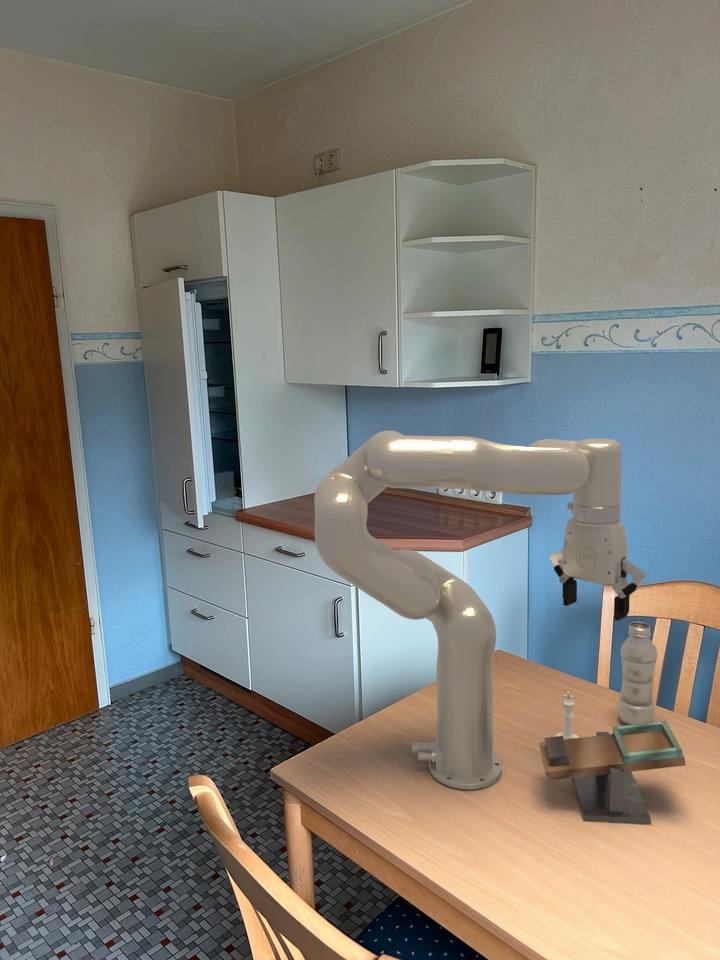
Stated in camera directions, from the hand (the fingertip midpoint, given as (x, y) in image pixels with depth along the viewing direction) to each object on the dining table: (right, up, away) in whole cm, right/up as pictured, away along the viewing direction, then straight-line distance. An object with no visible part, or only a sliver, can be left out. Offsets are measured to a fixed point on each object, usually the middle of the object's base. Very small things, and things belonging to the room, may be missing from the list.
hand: (594, 610), depth 123 cm
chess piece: (-2, -27, +11) cm, 29 cm away
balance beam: (0, -23, -7) cm, 23 cm away
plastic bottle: (+13, -25, +17) cm, 33 cm away
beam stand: (0, -29, -5) cm, 30 cm away
